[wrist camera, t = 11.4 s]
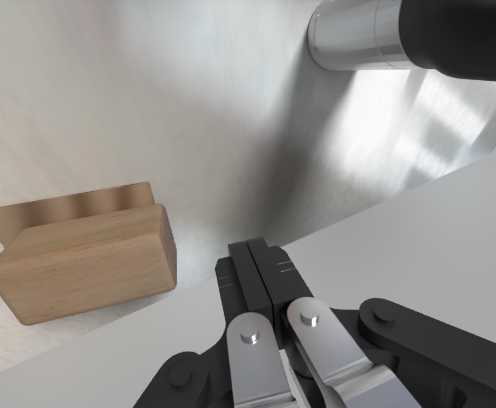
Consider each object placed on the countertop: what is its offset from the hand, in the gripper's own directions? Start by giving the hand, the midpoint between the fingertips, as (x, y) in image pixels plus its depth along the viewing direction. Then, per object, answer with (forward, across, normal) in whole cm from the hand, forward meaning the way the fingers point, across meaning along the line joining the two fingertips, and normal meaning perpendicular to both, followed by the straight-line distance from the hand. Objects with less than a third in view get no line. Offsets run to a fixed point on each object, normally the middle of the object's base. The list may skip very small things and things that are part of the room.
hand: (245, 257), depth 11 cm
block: (+25, +7, +15) cm, 30 cm away
